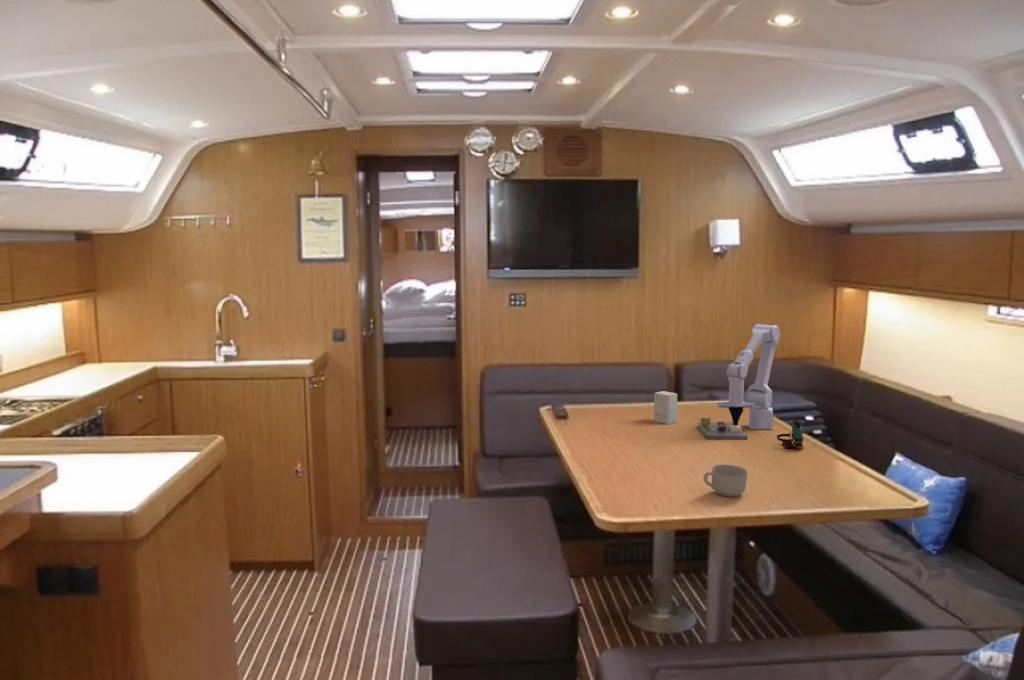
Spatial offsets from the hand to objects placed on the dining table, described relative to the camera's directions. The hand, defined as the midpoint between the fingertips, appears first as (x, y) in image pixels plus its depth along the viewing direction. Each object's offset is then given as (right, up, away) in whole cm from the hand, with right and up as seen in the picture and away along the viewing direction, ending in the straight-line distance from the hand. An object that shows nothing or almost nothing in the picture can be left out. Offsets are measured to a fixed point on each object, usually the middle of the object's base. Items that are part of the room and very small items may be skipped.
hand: (735, 425), depth 307 cm
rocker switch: (-6, -1, 0) cm, 6 cm away
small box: (-24, -1, +22) cm, 33 cm away
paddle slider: (-10, -1, +8) cm, 13 cm away
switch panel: (-5, -3, +3) cm, 7 cm away
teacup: (-26, -13, -74) cm, 79 cm away
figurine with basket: (+15, -6, -20) cm, 26 cm away
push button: (0, -3, 0) cm, 3 cm away
